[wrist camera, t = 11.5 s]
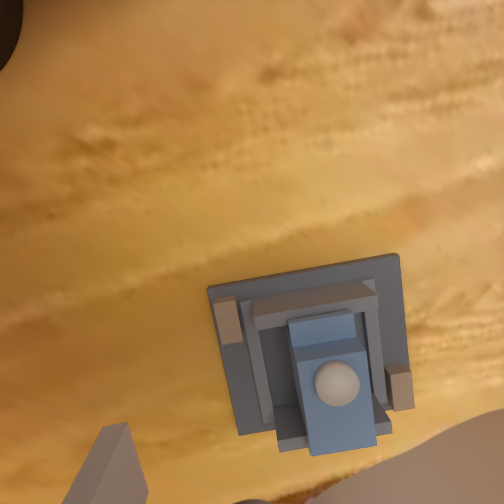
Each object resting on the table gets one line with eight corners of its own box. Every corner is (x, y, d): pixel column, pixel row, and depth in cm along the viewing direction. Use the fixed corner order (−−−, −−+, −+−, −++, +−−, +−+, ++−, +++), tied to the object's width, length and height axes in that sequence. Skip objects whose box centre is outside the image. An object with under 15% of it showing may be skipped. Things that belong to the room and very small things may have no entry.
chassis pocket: (239, 428, 35) (238, 474, 29) (208, 286, 32) (200, 307, 26) (408, 399, 34) (438, 440, 29) (394, 252, 31) (426, 267, 26)
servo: (299, 408, 33) (318, 489, 24) (280, 298, 31) (294, 343, 22) (348, 400, 33) (384, 478, 24) (333, 288, 31) (368, 330, 22)
